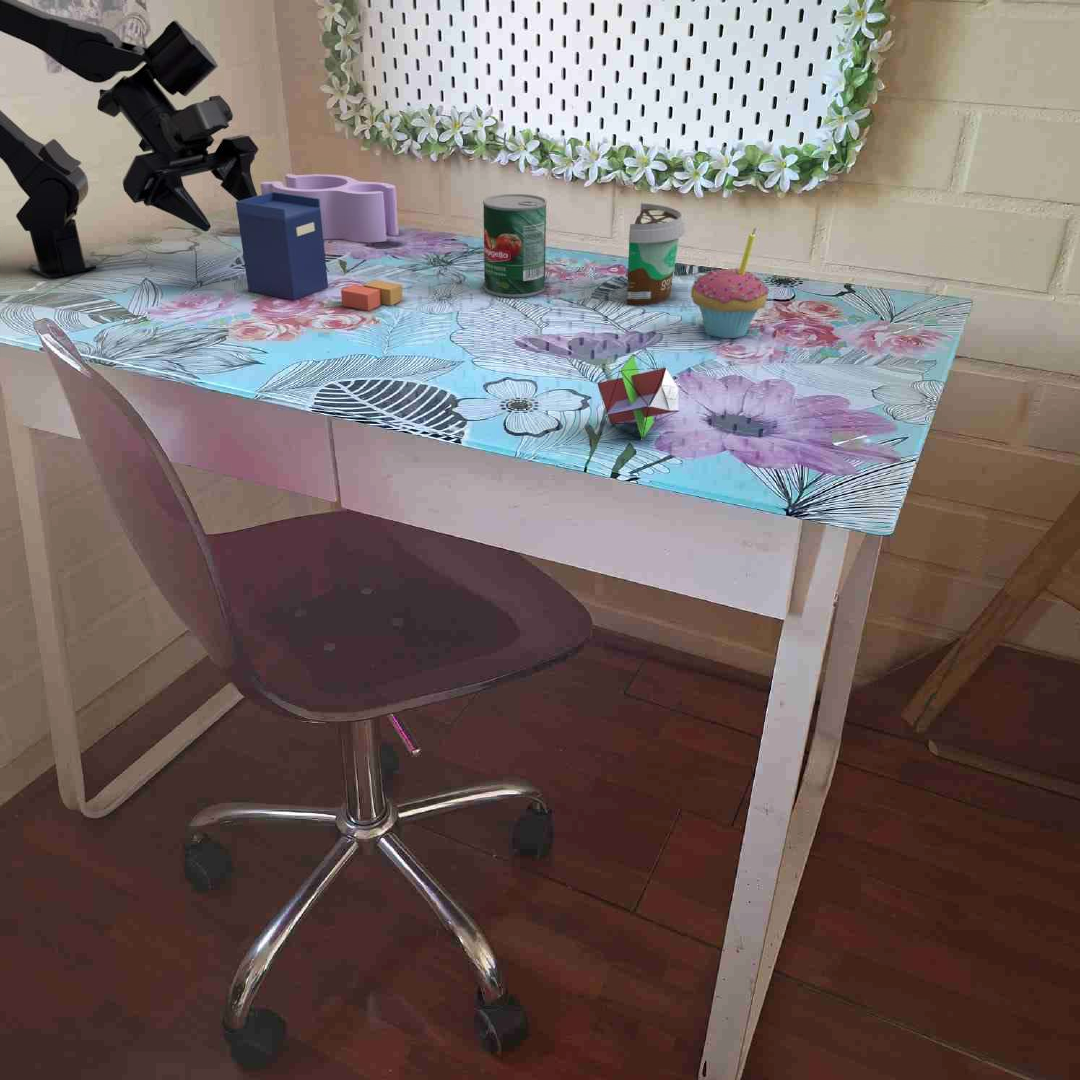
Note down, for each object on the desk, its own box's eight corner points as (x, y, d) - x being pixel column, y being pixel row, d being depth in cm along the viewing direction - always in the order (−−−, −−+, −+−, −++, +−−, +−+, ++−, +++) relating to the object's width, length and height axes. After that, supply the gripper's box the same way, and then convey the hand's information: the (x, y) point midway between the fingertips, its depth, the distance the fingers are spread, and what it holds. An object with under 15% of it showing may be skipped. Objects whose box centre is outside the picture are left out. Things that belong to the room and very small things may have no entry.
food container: (675, 312, 120) (682, 228, 115) (624, 308, 121) (629, 224, 116) (683, 283, 130) (689, 204, 125) (636, 279, 131) (641, 202, 126)
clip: (411, 228, 153) (408, 182, 150) (371, 247, 143) (367, 198, 140) (301, 216, 159) (296, 171, 156) (255, 233, 150) (249, 186, 146)
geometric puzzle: (569, 412, 88) (625, 352, 84) (593, 385, 94) (647, 327, 89) (628, 466, 89) (686, 409, 84) (648, 436, 95) (704, 381, 90)
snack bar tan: (389, 289, 120) (391, 306, 121) (401, 284, 122) (402, 300, 123) (363, 284, 121) (364, 300, 122) (375, 279, 123) (376, 295, 124)
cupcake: (767, 324, 116) (781, 220, 110) (756, 348, 109) (770, 238, 103) (695, 316, 118) (705, 214, 112) (680, 339, 112) (689, 231, 105)
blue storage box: (248, 291, 125) (235, 201, 119) (283, 278, 130) (272, 191, 124) (295, 300, 122) (284, 209, 116) (329, 287, 127) (320, 198, 121)
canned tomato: (474, 293, 125) (472, 204, 120) (498, 276, 132) (497, 191, 126) (533, 300, 123) (533, 210, 117) (554, 283, 129) (555, 196, 124)
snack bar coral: (367, 294, 118) (368, 311, 119) (379, 289, 120) (380, 305, 121) (340, 289, 119) (342, 306, 120) (353, 284, 121) (354, 300, 122)
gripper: (119, 81, 112) (206, 193, 113) (236, 67, 126) (313, 167, 127) (87, 148, 119) (169, 253, 120) (201, 127, 133) (274, 221, 134)
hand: (235, 221), depth 125 cm, fingers open, 9 cm apart
